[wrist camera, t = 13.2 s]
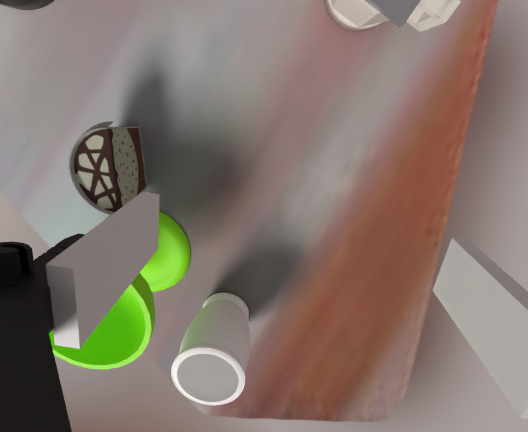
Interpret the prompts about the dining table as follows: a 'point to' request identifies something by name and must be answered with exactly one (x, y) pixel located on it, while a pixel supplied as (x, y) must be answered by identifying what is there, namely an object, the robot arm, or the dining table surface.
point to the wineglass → (133, 306)
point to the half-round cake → (108, 166)
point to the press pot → (389, 13)
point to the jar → (214, 352)
